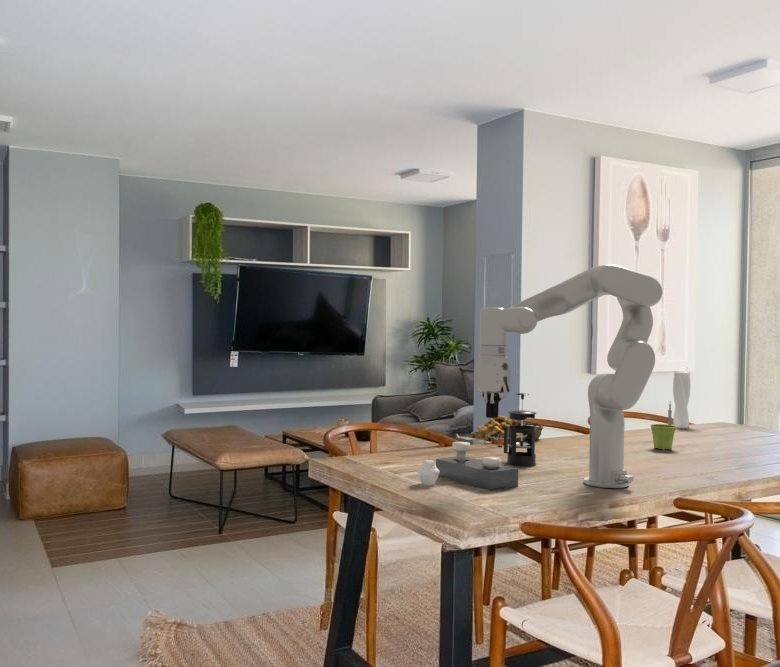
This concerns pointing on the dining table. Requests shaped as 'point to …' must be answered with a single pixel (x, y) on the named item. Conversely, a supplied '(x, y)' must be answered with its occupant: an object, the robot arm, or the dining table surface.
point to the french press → (521, 457)
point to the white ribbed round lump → (428, 473)
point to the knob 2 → (491, 462)
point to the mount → (477, 473)
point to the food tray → (500, 431)
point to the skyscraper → (680, 399)
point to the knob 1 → (461, 450)
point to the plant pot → (663, 435)
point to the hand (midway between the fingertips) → (492, 417)
